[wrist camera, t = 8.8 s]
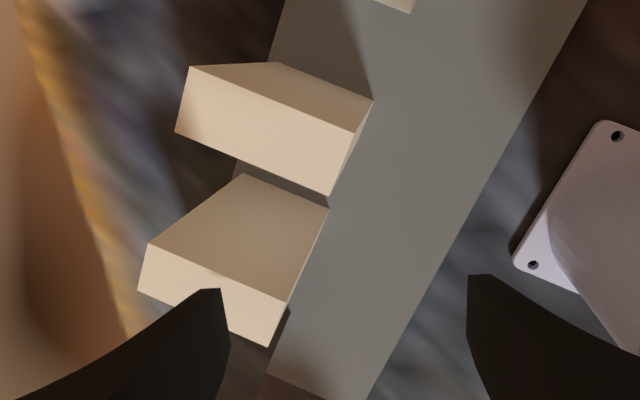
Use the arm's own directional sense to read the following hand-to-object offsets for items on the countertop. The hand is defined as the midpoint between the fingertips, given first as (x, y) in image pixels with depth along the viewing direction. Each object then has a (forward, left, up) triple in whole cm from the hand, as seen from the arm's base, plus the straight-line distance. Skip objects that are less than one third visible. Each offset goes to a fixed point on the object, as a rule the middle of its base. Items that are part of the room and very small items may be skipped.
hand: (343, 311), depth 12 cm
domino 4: (+4, +2, -10) cm, 11 cm away
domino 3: (+4, -4, -10) cm, 11 cm away
